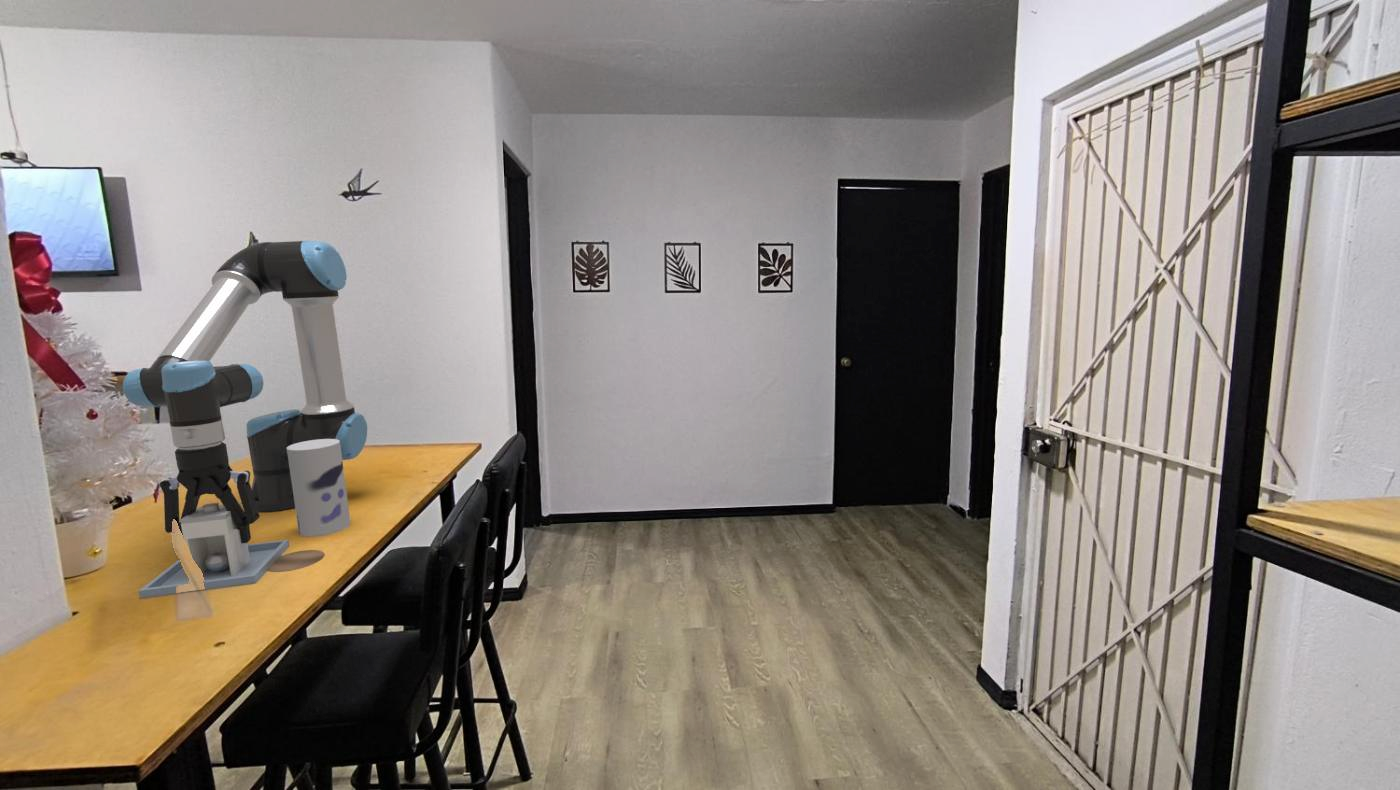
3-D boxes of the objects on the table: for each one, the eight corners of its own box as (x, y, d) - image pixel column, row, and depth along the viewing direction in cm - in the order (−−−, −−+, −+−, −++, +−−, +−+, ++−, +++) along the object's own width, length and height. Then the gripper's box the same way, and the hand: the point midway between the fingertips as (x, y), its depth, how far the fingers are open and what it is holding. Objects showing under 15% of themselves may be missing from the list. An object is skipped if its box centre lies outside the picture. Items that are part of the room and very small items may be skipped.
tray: (191, 560, 127) (189, 551, 127) (290, 548, 131) (288, 539, 131) (140, 601, 110) (138, 590, 110) (256, 586, 115) (254, 575, 114)
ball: (212, 568, 122) (209, 548, 121) (236, 565, 123) (233, 545, 122) (203, 577, 118) (199, 556, 117) (227, 573, 119) (224, 553, 118)
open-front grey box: (208, 564, 123) (197, 501, 121) (250, 559, 125) (239, 497, 123) (190, 580, 116) (178, 513, 114) (234, 574, 118) (223, 508, 116)
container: (327, 540, 135) (315, 449, 132) (288, 537, 137) (274, 448, 134) (360, 523, 145) (350, 438, 142) (323, 521, 147) (312, 437, 144)
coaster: (276, 556, 127) (275, 554, 127) (331, 549, 130) (330, 547, 130) (256, 578, 118) (255, 575, 118) (316, 570, 121) (315, 567, 120)
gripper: (123, 455, 110) (146, 578, 114) (254, 444, 116) (272, 562, 119) (147, 445, 117) (168, 561, 121) (269, 435, 123) (286, 547, 127)
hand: (220, 561), depth 120 cm, fingers closed on open-front grey box, 7 cm apart
